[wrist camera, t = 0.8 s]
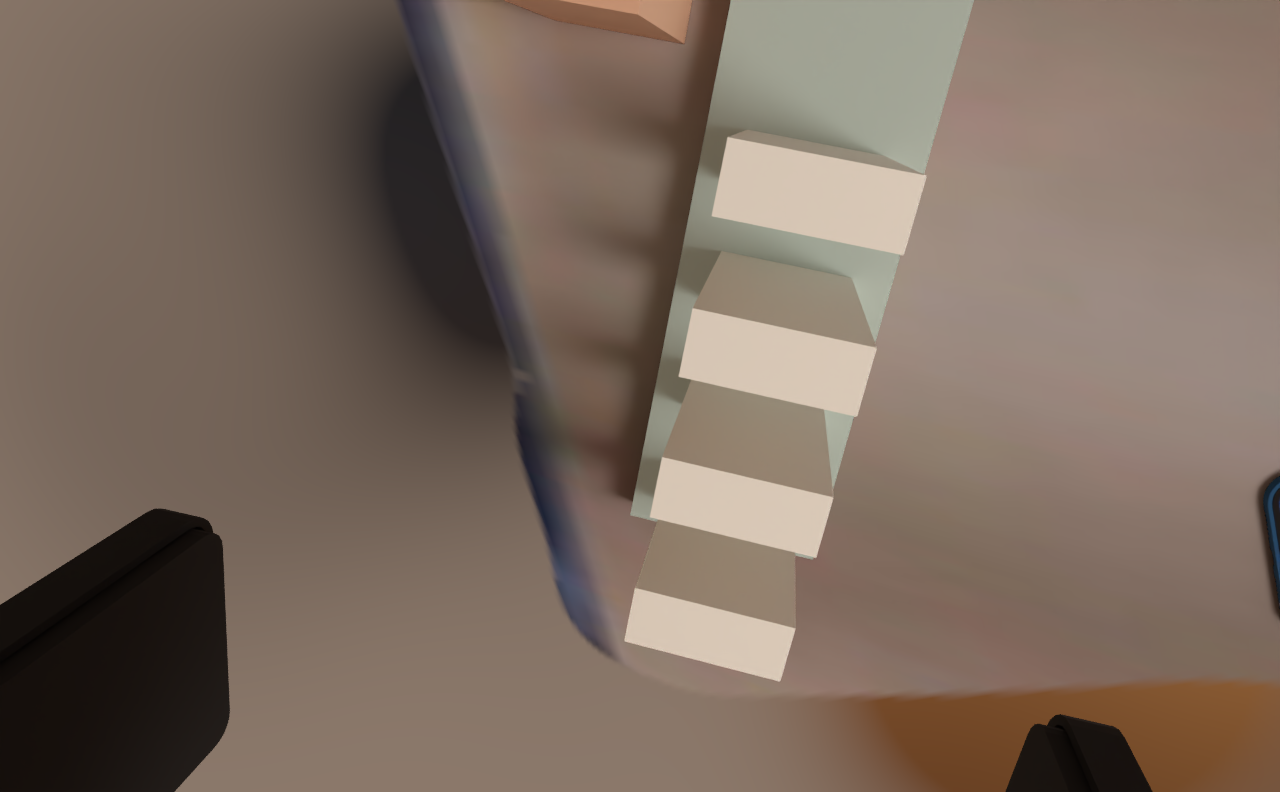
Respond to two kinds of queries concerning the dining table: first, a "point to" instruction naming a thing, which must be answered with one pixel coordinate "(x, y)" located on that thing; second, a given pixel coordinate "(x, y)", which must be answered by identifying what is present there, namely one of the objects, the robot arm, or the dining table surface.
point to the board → (817, 112)
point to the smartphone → (1274, 525)
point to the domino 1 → (620, 15)
